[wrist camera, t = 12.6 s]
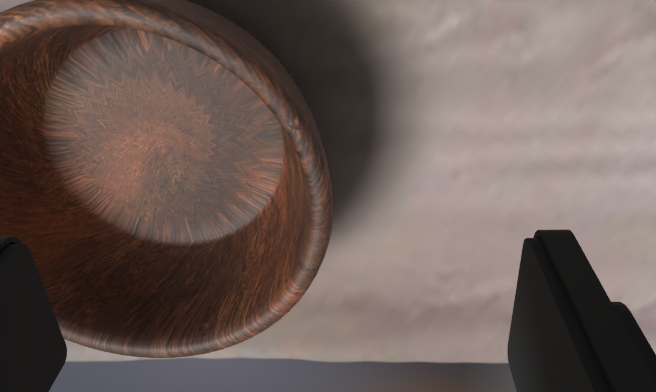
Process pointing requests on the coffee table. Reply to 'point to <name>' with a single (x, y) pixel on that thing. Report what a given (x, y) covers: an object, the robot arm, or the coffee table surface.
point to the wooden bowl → (158, 173)
